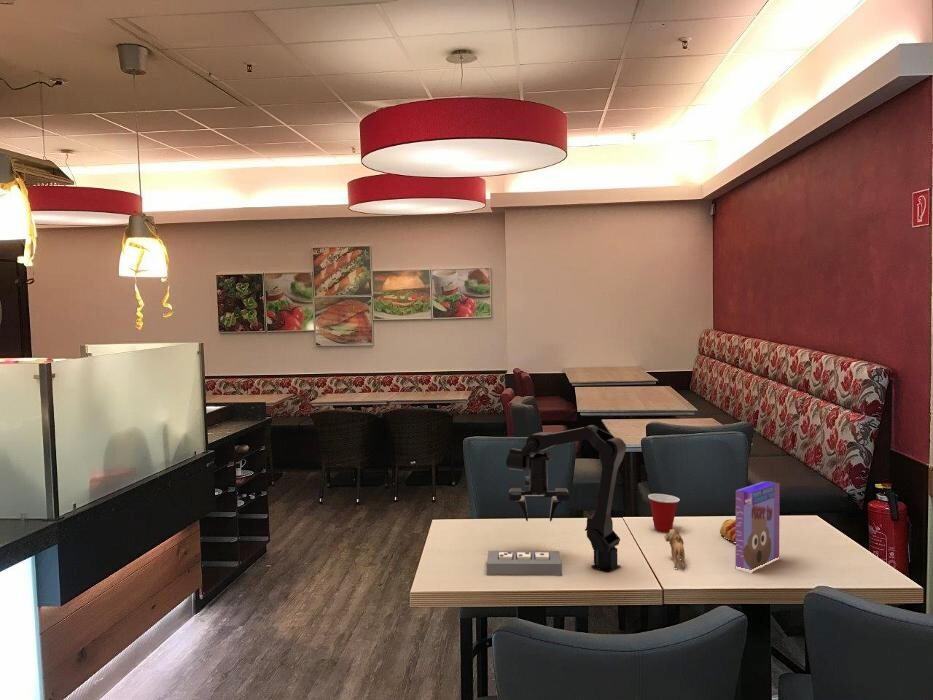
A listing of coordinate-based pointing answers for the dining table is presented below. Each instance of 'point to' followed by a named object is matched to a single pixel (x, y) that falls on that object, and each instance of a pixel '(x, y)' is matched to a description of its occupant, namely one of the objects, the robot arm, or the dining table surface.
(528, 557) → the tile two
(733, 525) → the croissant
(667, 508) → the plastic cup
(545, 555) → the tile one
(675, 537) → the lion figurine
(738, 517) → the cereal box
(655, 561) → the dining table surface
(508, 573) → the tile board
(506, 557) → the tile three
